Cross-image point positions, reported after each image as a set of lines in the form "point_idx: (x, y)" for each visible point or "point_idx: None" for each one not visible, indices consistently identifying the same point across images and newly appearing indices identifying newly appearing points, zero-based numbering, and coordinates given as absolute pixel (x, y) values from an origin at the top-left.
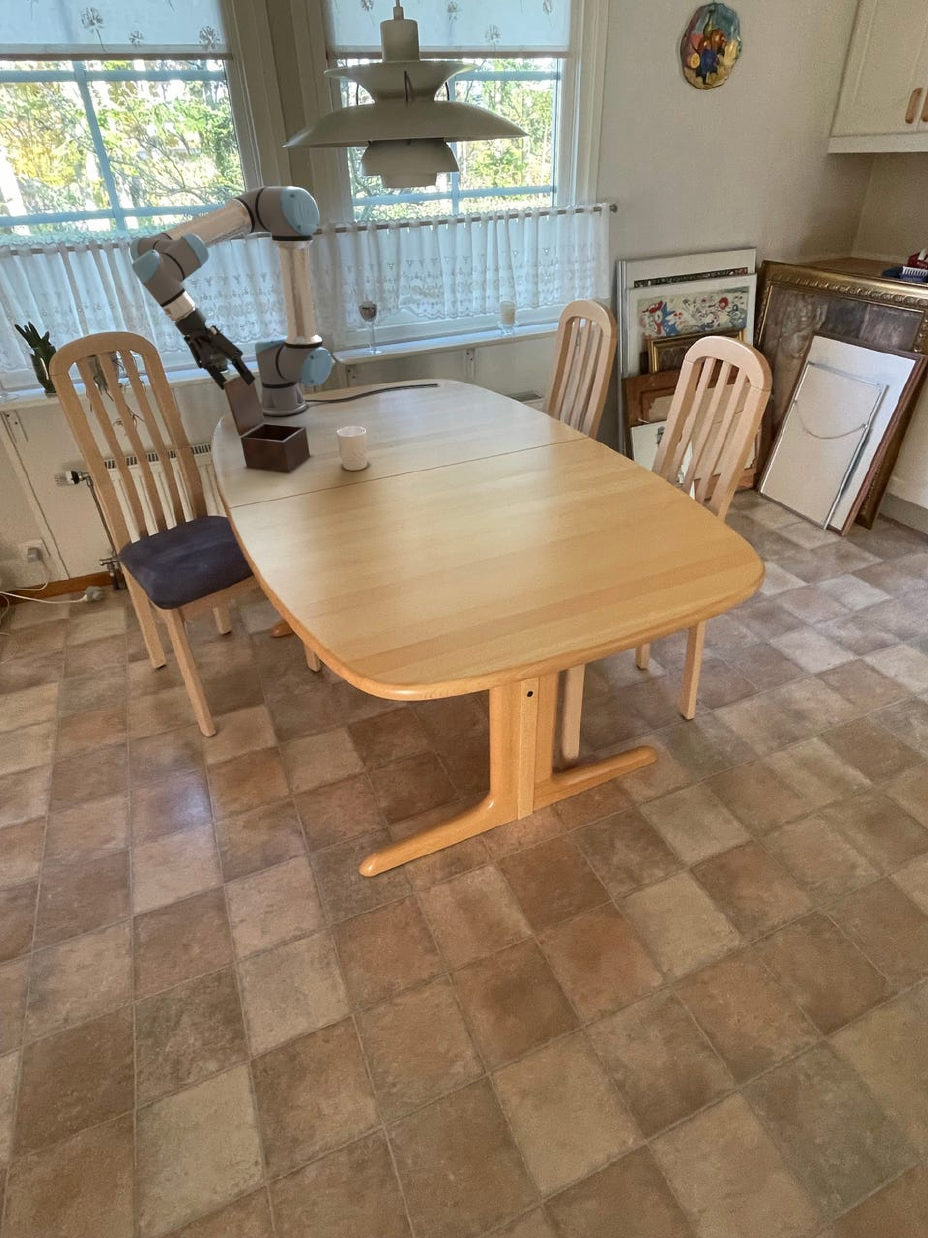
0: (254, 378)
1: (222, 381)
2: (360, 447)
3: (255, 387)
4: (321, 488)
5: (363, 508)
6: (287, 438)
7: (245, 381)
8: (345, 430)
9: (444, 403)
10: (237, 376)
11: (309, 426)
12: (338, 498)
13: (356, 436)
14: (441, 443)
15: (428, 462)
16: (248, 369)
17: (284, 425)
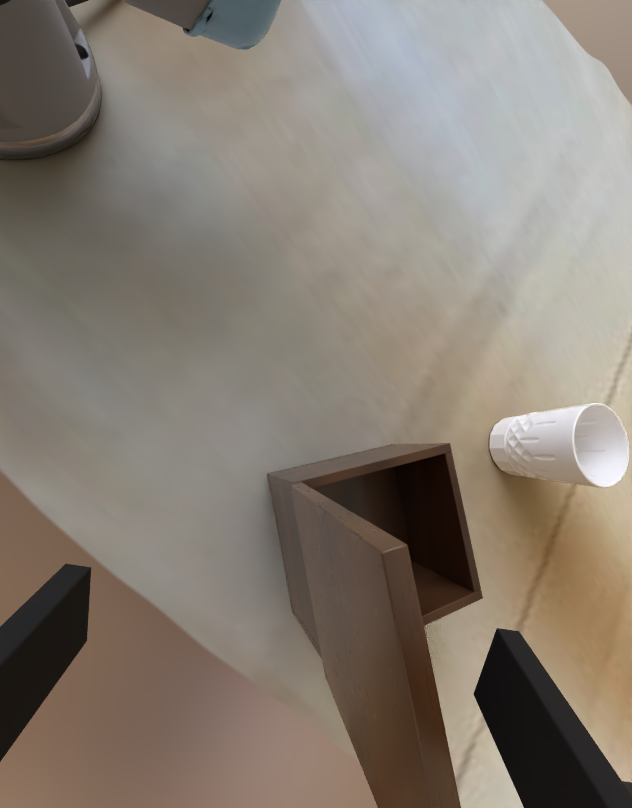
0: (521, 644)
1: (48, 658)
2: (588, 457)
3: (350, 511)
4: (526, 587)
5: (626, 609)
6: (471, 564)
7: (497, 735)
8: (567, 427)
9: (447, 8)
10: (444, 789)
11: (233, 233)
12: (575, 604)
13: (624, 467)
14: (564, 262)
15: (595, 363)
16: (589, 738)
17: (382, 466)
